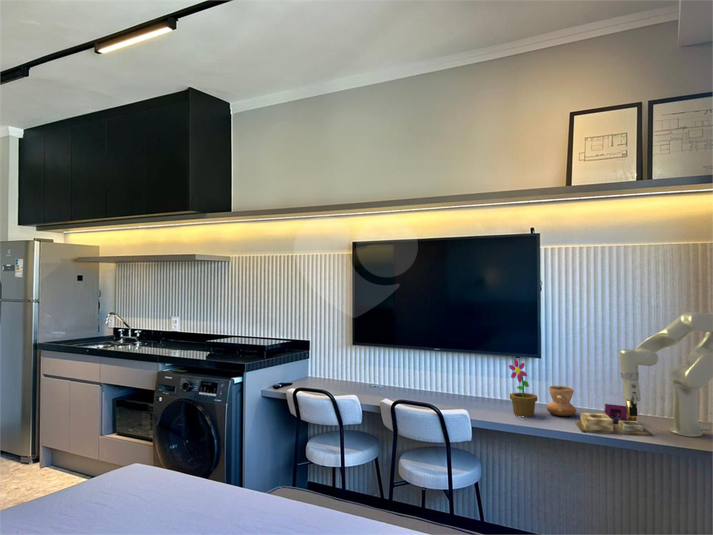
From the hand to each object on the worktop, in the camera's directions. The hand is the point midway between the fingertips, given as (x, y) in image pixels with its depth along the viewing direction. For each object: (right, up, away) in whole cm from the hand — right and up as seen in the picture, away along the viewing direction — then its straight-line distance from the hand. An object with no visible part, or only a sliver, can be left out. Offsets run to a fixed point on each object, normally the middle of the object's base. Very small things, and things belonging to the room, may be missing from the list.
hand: (631, 414), depth 233 cm
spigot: (0, -3, 0) cm, 3 cm away
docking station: (-9, -8, +2) cm, 12 cm away
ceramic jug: (-21, -9, +30) cm, 38 cm away
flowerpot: (-42, -9, +29) cm, 52 cm away
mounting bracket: (+2, -9, +17) cm, 19 cm away
